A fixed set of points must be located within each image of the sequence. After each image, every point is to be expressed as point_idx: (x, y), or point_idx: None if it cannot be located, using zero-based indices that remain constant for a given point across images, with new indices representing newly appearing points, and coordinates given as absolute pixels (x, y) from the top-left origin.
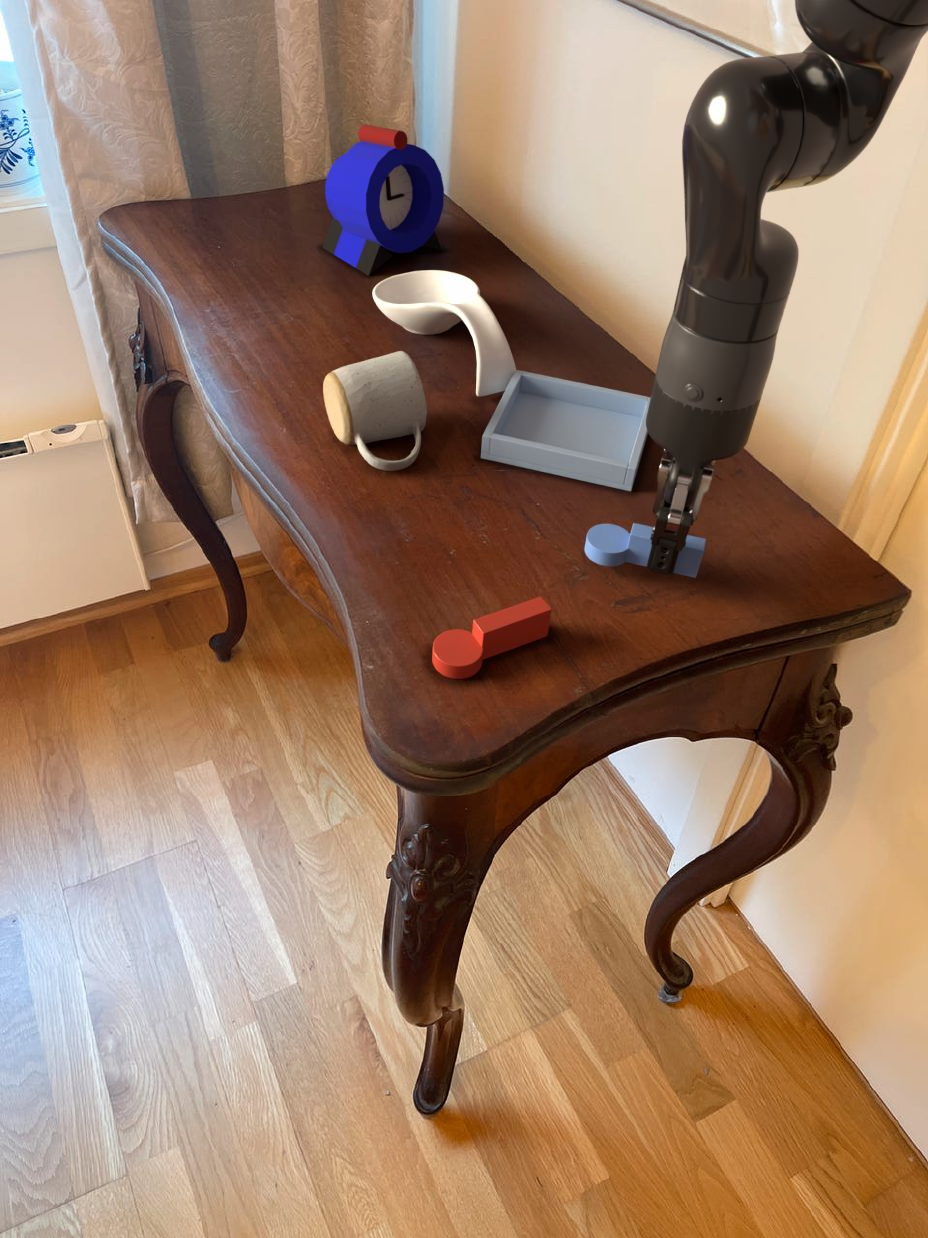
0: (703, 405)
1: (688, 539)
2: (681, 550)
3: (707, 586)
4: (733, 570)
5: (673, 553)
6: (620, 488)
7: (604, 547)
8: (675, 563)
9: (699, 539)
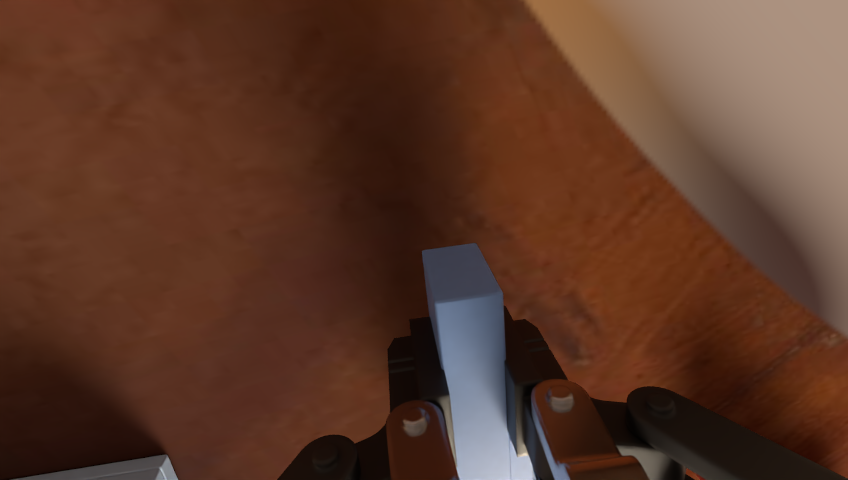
0: None
1: (463, 348)
2: (676, 395)
3: (432, 192)
4: (327, 141)
5: (559, 368)
6: (175, 476)
7: (517, 477)
8: (513, 325)
9: (450, 320)
